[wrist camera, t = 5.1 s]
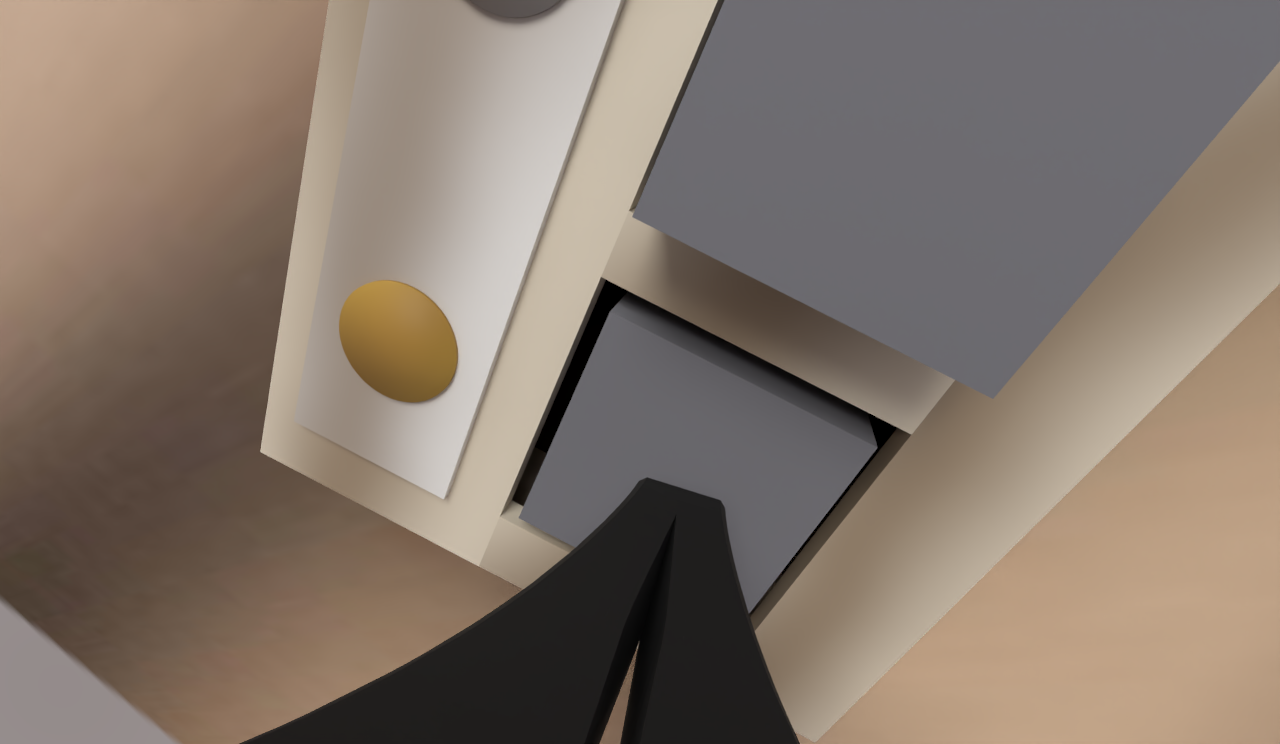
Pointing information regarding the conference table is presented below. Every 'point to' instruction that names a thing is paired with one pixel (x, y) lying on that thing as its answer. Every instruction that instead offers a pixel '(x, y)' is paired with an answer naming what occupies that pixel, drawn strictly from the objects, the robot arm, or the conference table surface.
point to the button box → (694, 290)
